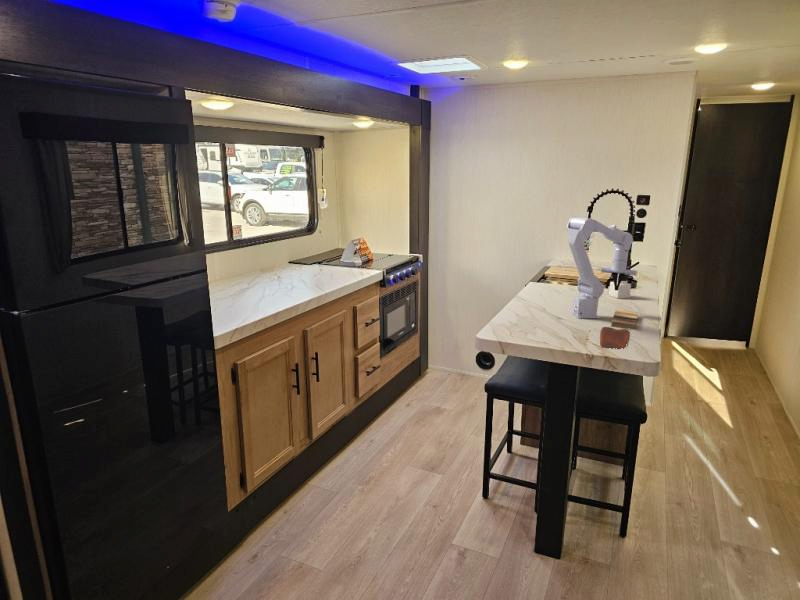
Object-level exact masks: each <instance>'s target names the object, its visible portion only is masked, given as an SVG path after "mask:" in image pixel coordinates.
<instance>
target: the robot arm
mask: <svg viewBox="0 0 800 600" xmlns="http://www.w3.org/2000/svg"><path fill="white" fill-rule="evenodd" d="M566 230H567V232H568V246H569V249H570V251H571V254H572V256H573V257H572V258H573V260H574V263H575V265H576V269H577V271H578V274H579V277H578V279H577V290H578V292H579V295H576V296H575V297H574V300H573V308H572V309H573V310H572V311H571V312H572V313H571V314H572V315H574V316H575V317H576V318H578V319H601V316H600V315H598V306H599V299H600V298H601V296H602V295H603V294H604V291H605V286H604V284H603V283H602V282H601V281H600V278H599V277H598V276H597V275H595V274H594V270H593V268H592V264H591V261H590V259H589V255H588V252H587V249H586V245H585V242H586V241H587V240H588V239H589V238H590V236H591V235H592V233H594V232H597V233H601V234H602V236H603V238H604V239H606V240H608V241H611V242H612V244H614V250H613V258H612V266H611V267H601V268H600V273H601V274H602V273H604V274H605V273H606V274H611V278H612V282H614V286H615V290H618V289H619V285H620V283H621V281H622V280H623V278H624V276H625V274H626V275H628V276H629V275H630V276H635V277H637V275H638V270H633V269H627V266H628V259H629V258H628V257H629V250H630V249H631V245H632V244H633V241H634V239H633V235H632V234H631V233H630V232H626V231H624V229H622V228H617V225H615V224H612V225H608V226H606V225H605V224H603V223H601V222H599V221H597V219H593V218H591V217H590V218H587V217H586V218H585V217H580V216H579V217H578V216H572V217H570V219H569V220H568V222H567V224H566ZM618 274H619V275H618ZM617 279H618V284H617Z"/></svg>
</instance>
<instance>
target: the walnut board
mask: <svg viewBox="0 0 800 600" xmlns="http://www.w3.org/2000/svg"><path fill="white" fill-rule="evenodd" d="M637 321H638V317H637V318H629V317H622V316H614V315H613V318H612V320H611V325H610V326H611V327H612V328H615V327H616V328H622V329H628V328H630V329H629V330H636V329H637V328H636V327H637Z"/></svg>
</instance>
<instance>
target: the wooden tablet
mask: <svg viewBox="0 0 800 600" xmlns="http://www.w3.org/2000/svg"><path fill="white" fill-rule="evenodd" d="M628 341H629V330H628V328H622V329H617V328H615V327H610V326H603V327H602V328H601V330H600V333H599V344H600V345H599V346H600V347H601V348H603V349H608V350H609V348H611V349H610V350H617V349H621V348H623V349H624V348H625V347H626V344H627V345H628ZM613 348H615V349H613ZM616 348H617V349H616Z"/></svg>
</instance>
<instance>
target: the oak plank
mask: <svg viewBox="0 0 800 600" xmlns="http://www.w3.org/2000/svg"><path fill="white" fill-rule="evenodd" d="M638 313H639V312H637V311H632V310H631V311H629V310H622V309H615V311H614V314H613V316H622V317H629V318H637V319H638V315H639V314H638Z"/></svg>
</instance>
